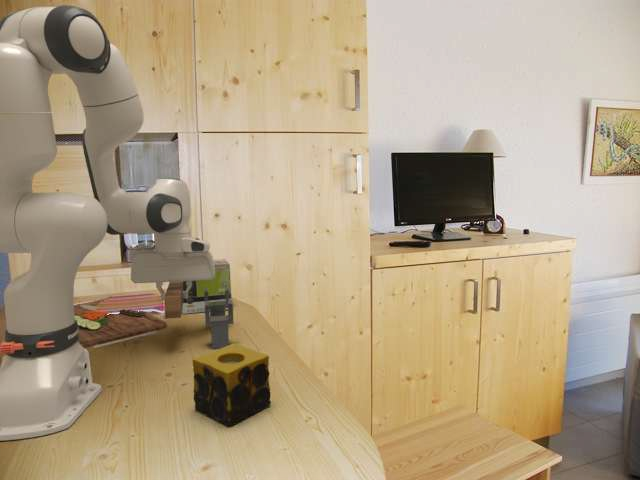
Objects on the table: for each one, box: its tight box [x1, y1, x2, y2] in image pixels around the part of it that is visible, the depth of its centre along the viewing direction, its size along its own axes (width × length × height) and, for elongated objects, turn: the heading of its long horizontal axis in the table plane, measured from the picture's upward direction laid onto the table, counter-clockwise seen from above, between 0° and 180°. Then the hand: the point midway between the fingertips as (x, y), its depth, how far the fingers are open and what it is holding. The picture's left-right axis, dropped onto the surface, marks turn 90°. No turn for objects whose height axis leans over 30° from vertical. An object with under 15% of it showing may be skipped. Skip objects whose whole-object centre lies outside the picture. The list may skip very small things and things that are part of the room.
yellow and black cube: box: [192, 343, 272, 428], centre depth 88 cm, size 10×10×10 cm
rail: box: [164, 281, 184, 320], centre depth 122 cm, size 20×4×5 cm, turn 14°
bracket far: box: [204, 287, 230, 328], centre depth 133 cm, size 4×7×11 cm, turn 104°
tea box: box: [182, 258, 232, 315], centre depth 152 cm, size 15×10×15 cm, turn 108°
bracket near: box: [204, 298, 234, 350], centre depth 119 cm, size 4×7×11 cm, turn 104°
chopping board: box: [74, 298, 168, 350], centre depth 140 cm, size 45×27×3 cm, turn 44°
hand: (174, 299), depth 122 cm, fingers closed on rail, 3 cm apart
